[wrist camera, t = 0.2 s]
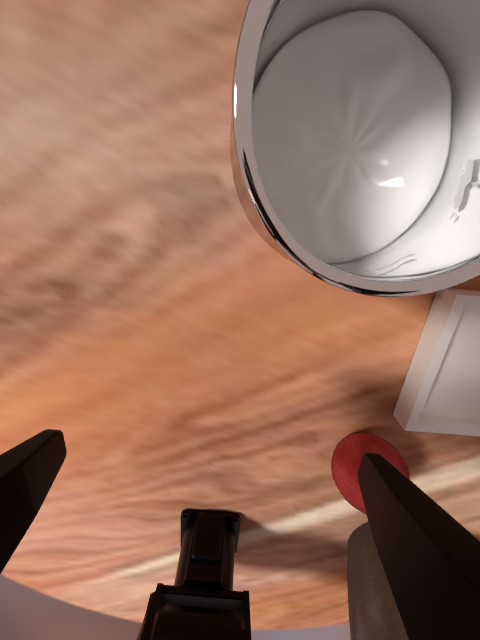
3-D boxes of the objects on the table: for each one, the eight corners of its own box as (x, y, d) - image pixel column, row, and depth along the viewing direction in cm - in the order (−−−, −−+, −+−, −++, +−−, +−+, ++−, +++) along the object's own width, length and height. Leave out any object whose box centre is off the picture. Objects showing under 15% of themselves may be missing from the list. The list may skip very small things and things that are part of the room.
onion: (394, 419, 25) (455, 506, 18) (368, 464, 28) (414, 558, 20) (334, 406, 25) (371, 489, 18) (313, 452, 27) (338, 544, 20)
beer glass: (345, 114, 17) (813, -334, 3) (343, 232, 19) (588, 289, 6) (233, 131, 17) (180, -195, 3) (245, 244, 20) (243, 324, 6)
